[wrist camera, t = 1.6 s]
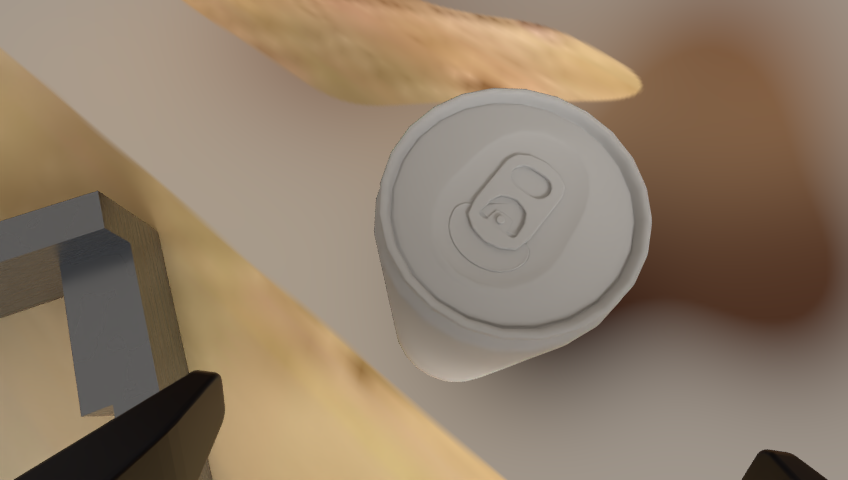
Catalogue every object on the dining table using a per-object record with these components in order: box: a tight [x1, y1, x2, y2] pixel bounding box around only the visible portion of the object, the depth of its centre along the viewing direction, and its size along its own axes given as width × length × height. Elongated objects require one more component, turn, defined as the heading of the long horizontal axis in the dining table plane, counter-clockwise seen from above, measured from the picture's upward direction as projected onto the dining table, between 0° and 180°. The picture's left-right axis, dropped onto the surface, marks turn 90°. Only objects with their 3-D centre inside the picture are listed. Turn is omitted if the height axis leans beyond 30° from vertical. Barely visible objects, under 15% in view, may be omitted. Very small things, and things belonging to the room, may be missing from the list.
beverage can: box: [374, 88, 652, 382], centre depth 13 cm, size 5×5×12 cm
